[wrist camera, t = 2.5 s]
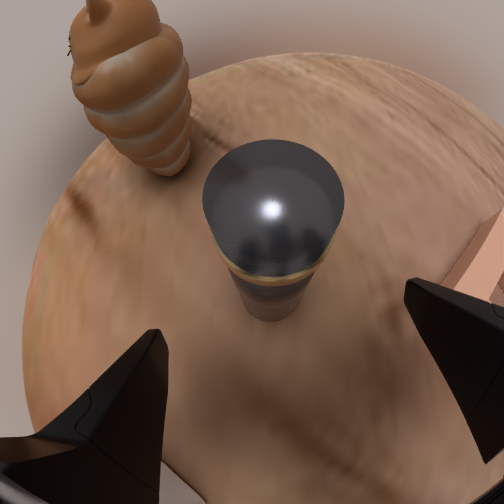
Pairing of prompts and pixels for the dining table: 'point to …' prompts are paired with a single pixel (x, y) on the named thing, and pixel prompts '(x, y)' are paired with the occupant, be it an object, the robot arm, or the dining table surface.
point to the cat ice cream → (133, 81)
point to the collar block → (481, 261)
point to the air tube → (272, 220)
